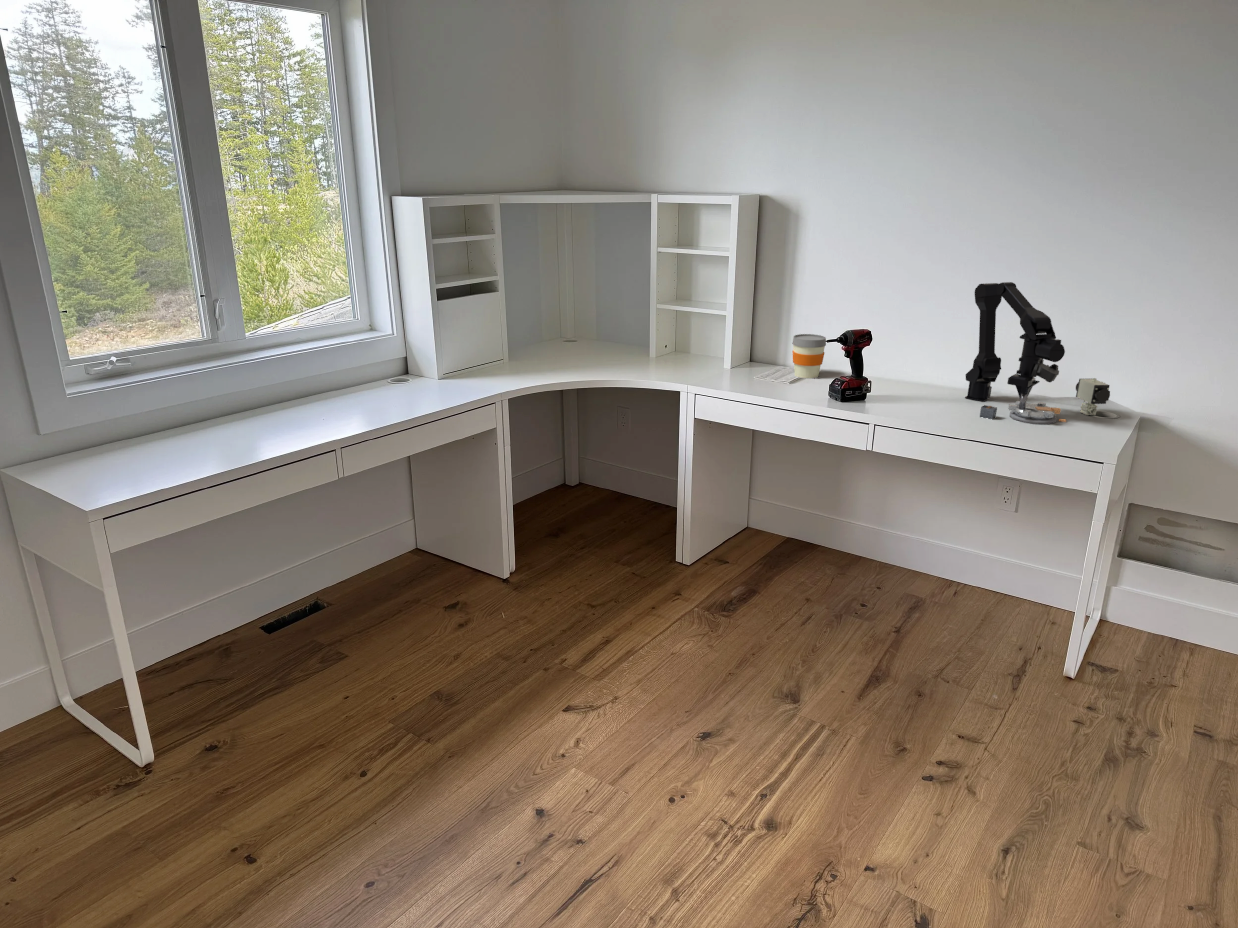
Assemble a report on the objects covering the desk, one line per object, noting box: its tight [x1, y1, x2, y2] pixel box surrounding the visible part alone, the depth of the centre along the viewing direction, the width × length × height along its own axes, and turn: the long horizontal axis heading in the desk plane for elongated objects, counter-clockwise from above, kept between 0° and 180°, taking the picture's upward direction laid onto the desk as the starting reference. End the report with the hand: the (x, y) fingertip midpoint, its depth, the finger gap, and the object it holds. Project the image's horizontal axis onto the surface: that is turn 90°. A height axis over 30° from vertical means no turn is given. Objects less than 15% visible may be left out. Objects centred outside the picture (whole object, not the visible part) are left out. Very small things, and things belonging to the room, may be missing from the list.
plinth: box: [1009, 410, 1067, 425], centre depth 266 cm, size 16×14×1 cm
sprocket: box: [1007, 393, 1062, 420], centre depth 265 cm, size 14×15×7 cm
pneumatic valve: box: [1075, 377, 1111, 416], centre depth 270 cm, size 6×12×12 cm, turn 4°
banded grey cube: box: [979, 404, 998, 420], centre depth 267 cm, size 4×3×4 cm
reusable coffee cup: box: [791, 333, 827, 379], centre depth 317 cm, size 13×13×15 cm
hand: (1023, 402), depth 269 cm, fingers closed
